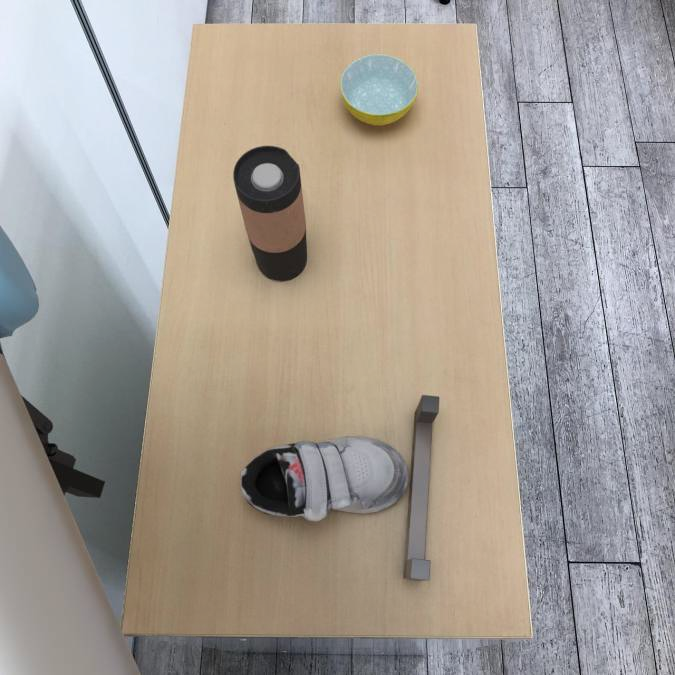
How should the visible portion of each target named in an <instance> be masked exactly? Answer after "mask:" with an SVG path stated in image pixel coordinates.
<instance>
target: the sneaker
mask: <svg viewBox="0 0 675 675" xmlns="http://www.w3.org/2000/svg"><path fill="white" fill-rule="evenodd" d="M408 473H409V472H408V467H407V465H406V462H405V460H404V459H403V457H402V455H401V454H400V453H399V452H398V451H397V449H396V448H393V447H392V446H391V445H389V443H386V442H384V441H382V440H379V439H376V438H372V437H369V436H368V437H367V436H363V435H348V436H347V435H346V436H341V437H338V438H331V439H327V440H326V439H325V440H324V441H318V442H313V441H309V440H305V441H304V440H302V441H299V442H296V443H294V442H292V443H288V444H285V445H278V446H273V447H270V448H267V449H266V450H264V451H263V452H261V453H260V454H258V455H256V456H254V457H253V458H252V459H251V460H250V461H249V462H248V463H247V465H246V466H245V467H244V468H243V469H242V471H241V474H240V487H241V488H240V489H241V493H242V495H243V497H244V500H245V501H246V502H247V504H249V506H250V507H252V508H253V509H255V510H257V511H258V512H261V513H263V514H265V515H270V516H271V515H272V516H277V517H287V518H293V517H295V518H296V517H302V518H304V519H305V520H307V521H309V522H319V521H320V522H321V520H323V519H324V518H325V517H327V516H328V514H329V510H333V511H339V512H345V513H351V514H352V513H354V514H373V513H378V512H382V511H383V510H386V509H388V508H390V507H392V506H394V505H395V504H397V503H398V502H399V501H400V500H401V499H402V497H403V496H404V494H405V493H406V490H407V488H408V485H409V477H408V476H409V474H408Z"/></svg>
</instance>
